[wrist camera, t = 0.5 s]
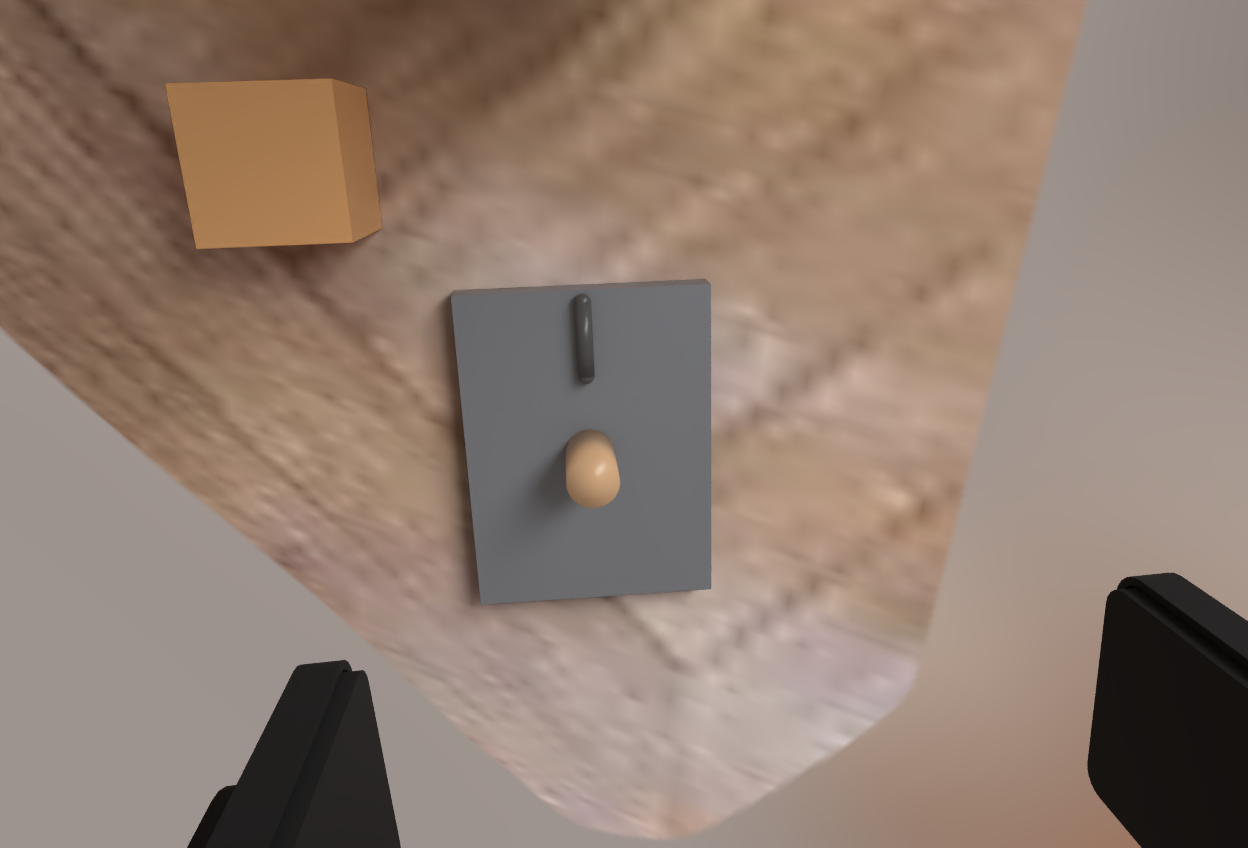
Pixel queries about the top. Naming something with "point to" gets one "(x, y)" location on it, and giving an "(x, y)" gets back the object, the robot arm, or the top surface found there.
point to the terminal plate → (559, 404)
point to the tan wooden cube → (275, 161)
